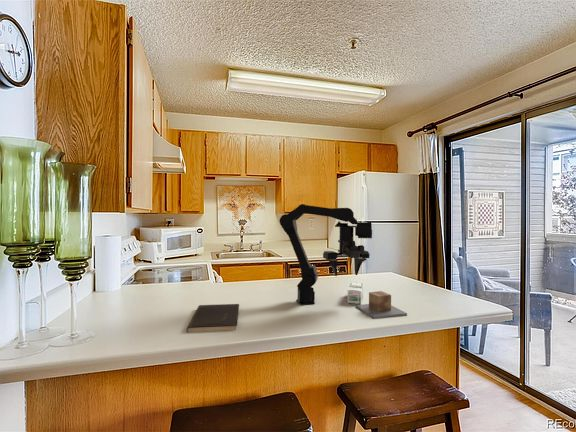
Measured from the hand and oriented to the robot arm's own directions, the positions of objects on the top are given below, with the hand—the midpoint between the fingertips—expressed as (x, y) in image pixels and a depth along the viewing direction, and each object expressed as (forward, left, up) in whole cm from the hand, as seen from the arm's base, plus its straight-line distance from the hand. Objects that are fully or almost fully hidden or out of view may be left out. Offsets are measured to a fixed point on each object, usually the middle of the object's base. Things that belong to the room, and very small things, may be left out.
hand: (346, 275), depth 127 cm
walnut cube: (+10, -10, -12) cm, 18 cm away
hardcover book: (-53, -3, -13) cm, 55 cm away
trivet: (+10, -10, -12) cm, 19 cm away
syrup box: (+12, +13, -10) cm, 20 cm away
